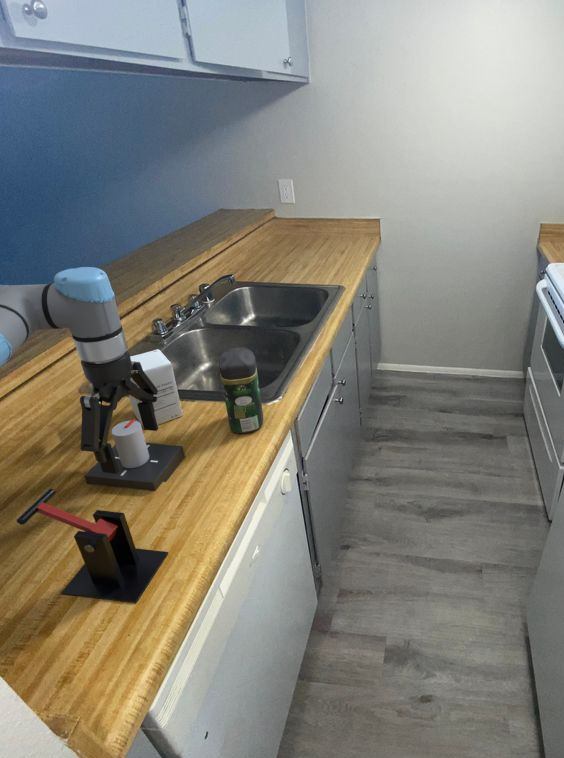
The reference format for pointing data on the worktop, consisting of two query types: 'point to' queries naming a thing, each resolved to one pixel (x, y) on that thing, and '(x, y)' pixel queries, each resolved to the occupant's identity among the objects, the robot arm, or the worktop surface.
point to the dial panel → (140, 469)
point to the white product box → (159, 386)
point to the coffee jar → (241, 390)
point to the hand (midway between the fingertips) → (132, 449)
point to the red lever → (66, 517)
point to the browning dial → (130, 444)
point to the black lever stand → (113, 563)
